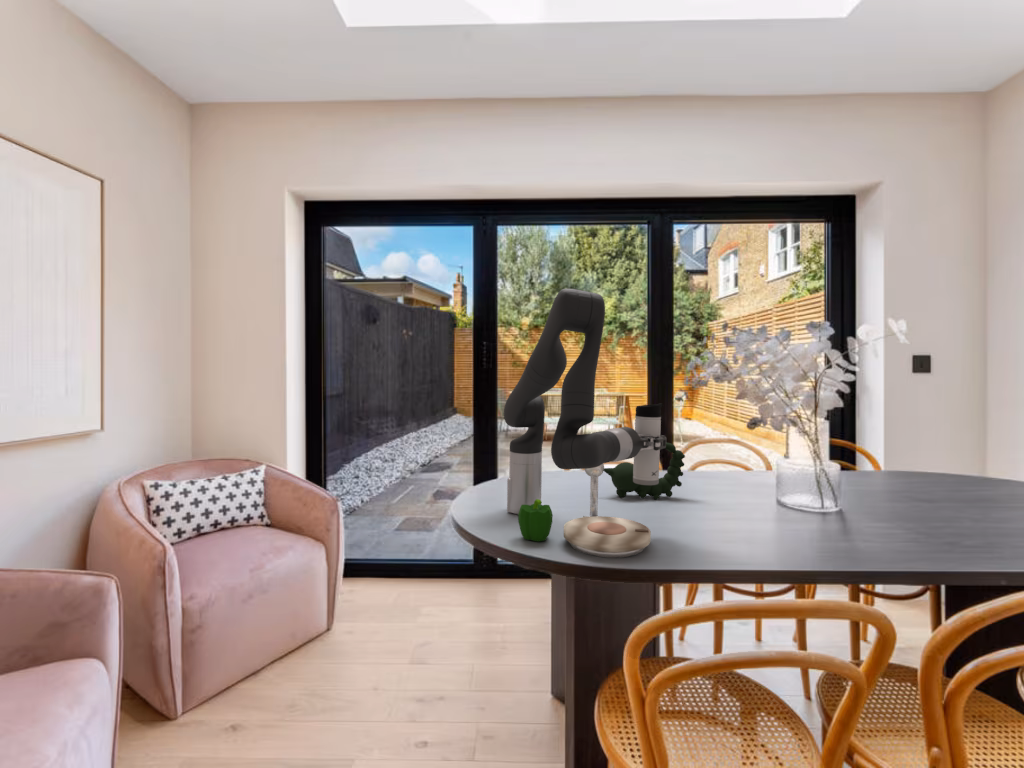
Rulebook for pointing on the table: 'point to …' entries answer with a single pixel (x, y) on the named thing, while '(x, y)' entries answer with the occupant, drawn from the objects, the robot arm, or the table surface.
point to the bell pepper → (535, 521)
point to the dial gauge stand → (594, 488)
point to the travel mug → (647, 458)
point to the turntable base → (606, 554)
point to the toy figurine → (624, 483)
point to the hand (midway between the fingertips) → (651, 438)
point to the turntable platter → (607, 534)
